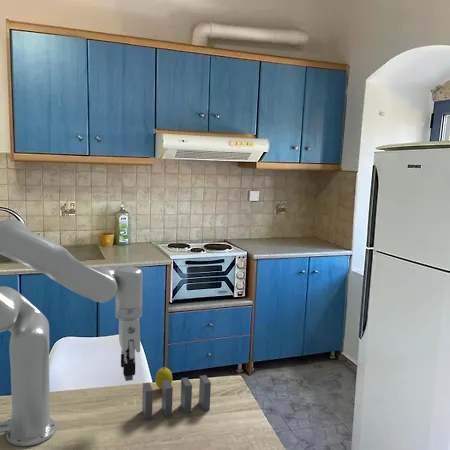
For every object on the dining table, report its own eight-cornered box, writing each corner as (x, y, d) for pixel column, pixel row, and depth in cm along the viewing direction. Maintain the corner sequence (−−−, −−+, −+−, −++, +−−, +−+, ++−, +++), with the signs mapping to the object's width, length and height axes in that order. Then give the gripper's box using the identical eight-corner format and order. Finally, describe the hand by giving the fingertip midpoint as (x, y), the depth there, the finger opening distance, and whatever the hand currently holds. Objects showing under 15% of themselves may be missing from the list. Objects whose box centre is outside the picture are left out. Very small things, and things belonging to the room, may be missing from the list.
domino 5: (203, 410, 140) (204, 383, 139) (198, 402, 145) (199, 375, 144) (209, 409, 141) (210, 382, 140) (204, 401, 146) (205, 375, 144)
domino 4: (184, 413, 138) (185, 386, 137) (180, 405, 143) (181, 378, 141) (191, 412, 139) (192, 385, 138) (186, 404, 143) (187, 377, 142)
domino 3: (165, 416, 136) (166, 388, 135) (161, 408, 141) (162, 380, 139) (171, 415, 137) (172, 387, 135) (167, 407, 141) (168, 379, 140)
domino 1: (129, 372, 135) (130, 343, 134) (132, 380, 131) (133, 350, 129) (123, 372, 135) (123, 344, 133) (125, 380, 130) (125, 351, 129)
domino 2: (145, 419, 134) (145, 391, 133) (142, 410, 139) (142, 383, 137) (152, 418, 135) (152, 390, 133) (148, 409, 139) (149, 382, 138)
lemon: (168, 395, 148) (169, 372, 147) (152, 392, 149) (153, 369, 148) (174, 387, 154) (174, 364, 152) (158, 384, 155) (159, 362, 153)
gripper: (147, 320, 123) (146, 383, 126) (136, 300, 139) (135, 356, 142) (119, 322, 120) (118, 386, 123) (111, 302, 136) (111, 359, 139)
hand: (127, 370), depth 132 cm, fingers closed on domino 1, 4 cm apart
